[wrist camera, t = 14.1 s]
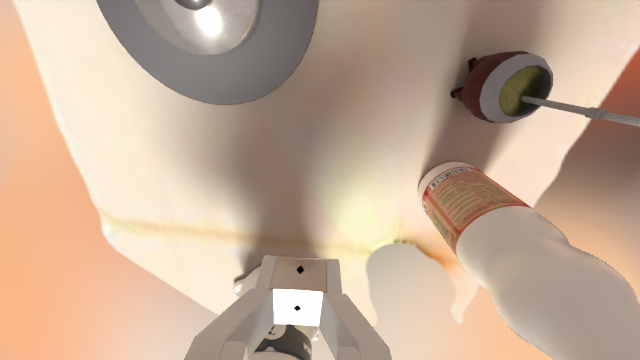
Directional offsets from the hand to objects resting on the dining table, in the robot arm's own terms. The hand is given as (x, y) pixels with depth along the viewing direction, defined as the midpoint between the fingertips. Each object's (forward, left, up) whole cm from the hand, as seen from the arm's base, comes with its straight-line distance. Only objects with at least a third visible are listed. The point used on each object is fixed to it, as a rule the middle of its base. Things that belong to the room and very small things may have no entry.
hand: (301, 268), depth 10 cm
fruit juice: (-8, -22, -25) cm, 34 cm away
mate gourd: (+7, -21, -25) cm, 33 cm away
